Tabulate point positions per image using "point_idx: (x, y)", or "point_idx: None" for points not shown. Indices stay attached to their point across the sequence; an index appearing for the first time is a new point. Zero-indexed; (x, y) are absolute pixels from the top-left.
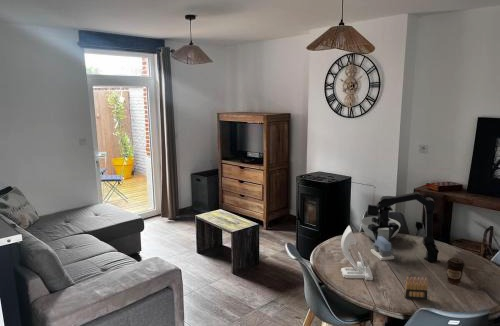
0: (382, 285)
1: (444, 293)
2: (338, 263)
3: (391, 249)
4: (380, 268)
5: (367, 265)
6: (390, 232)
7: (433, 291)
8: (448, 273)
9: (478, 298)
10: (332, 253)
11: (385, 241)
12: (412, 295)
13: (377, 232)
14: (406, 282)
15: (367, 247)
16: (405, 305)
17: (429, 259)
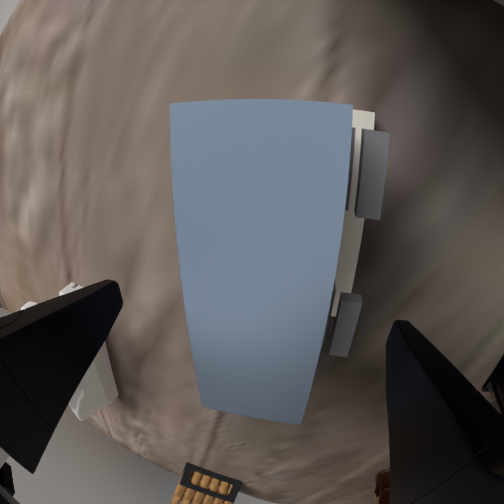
0: (143, 422)
1: (307, 488)
2: (15, 240)
3: (331, 341)
4: (173, 361)
5: (78, 400)
6: (417, 479)
7: (285, 481)
8: (373, 501)
9: (365, 499)
10: (4, 125)
11: (255, 371)
12: (202, 477)
13: (31, 454)
14: (172, 499)
15: (236, 13)
16: (174, 468)
17: (497, 386)
